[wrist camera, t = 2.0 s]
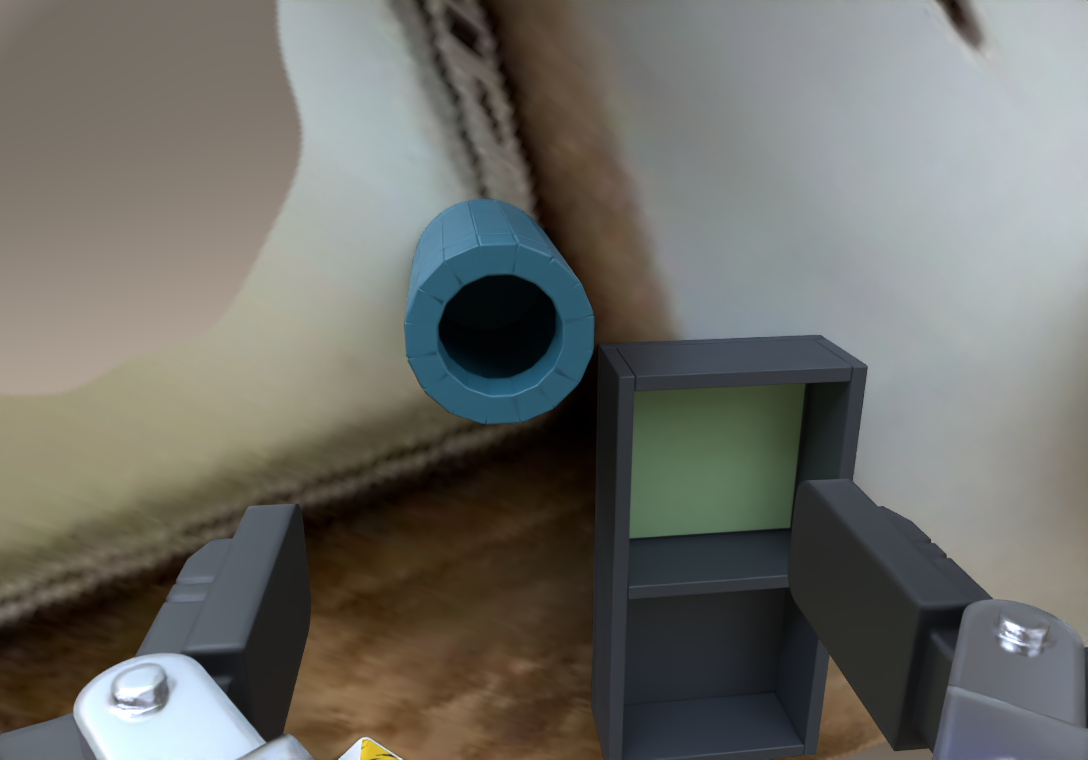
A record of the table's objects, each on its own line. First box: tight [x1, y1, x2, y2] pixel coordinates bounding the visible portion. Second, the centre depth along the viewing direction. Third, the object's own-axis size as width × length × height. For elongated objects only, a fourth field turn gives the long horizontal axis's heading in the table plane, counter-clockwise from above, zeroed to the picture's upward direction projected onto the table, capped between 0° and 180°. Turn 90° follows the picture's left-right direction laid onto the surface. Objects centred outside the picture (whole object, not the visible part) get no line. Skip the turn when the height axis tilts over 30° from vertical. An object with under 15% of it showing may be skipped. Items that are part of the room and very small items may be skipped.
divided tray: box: [592, 335, 868, 760], centre depth 34 cm, size 9×18×4 cm, turn 0°
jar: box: [404, 199, 594, 424], centre depth 27 cm, size 5×5×9 cm
